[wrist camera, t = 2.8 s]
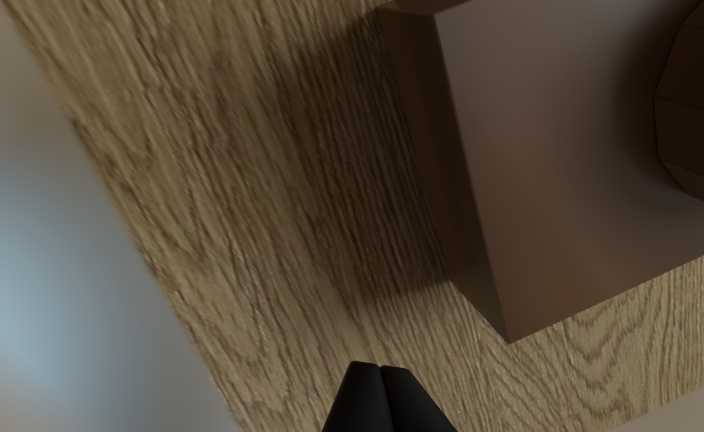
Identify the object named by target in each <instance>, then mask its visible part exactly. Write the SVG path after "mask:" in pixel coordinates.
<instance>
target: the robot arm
mask: <svg viewBox="0 0 704 432" xmlns="http://www.w3.org/2000/svg"><path fill="white" fill-rule="evenodd" d="M322 432H457V430H456V429H455V428H454V426H453V425H452V424H451V423H450V421H449V420H448V419H447V417H446V416H445V415H444V414H443V412H442V411H441V410H440V408H439V407H438V406H437V405H436V403H435V402H434V401H433V399H432V398H431V397H430V396H429V394H428V393H427V392H426V391H425V389H424V388H423V387H422V385H421V384H420V383H419V382H418V380H417V379H416V378H415V376H414V375H413V374H412V373H411V372H410V371H409V370H408V369H405V368H400V367H393V366H386V365H383V366H381V367H380V368H379V366H377V365H376V364H373V363H366V362H360V361H352V362H350V364H349V366H348V368H347V371H346V373H345V376H344V378H343V380H342V383H341V385H340V388H339V390H338V393H337V395H336V398H335V400H334V403H333V405H332V407H331V410H330V412H329V415H328V417H327V420H326V422H325V425H324V427H323V430H322Z"/></svg>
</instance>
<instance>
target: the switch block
mask: <svg viewBox="0 0 704 432" xmlns="http://www.w3.org/2000/svg"><path fill="white" fill-rule="evenodd" d="M377 13H378V17H379V20H380V24H381V28H382V31H383V35H384V39H385V42H386V46H387V50H388V53H389V57H390V61H391V64H392V68H393V72H394V75H395V79H396V83H397V86H398V90H399V94H400V97H401V101H402V105H403V108H404V112H405V116H406V119H407V123H408V127H409V130H410V134H411V138H412V141H413V145H414V148H415V152H416V156H417V159H418V163H419V167H420V170H421V174H422V178H423V181H424V185H425V189H426V192H427V196H428V200H429V203H430V207H431V211H432V214H433V218H434V222H435V225H436V229H437V233H438V236H439V240H440V244H441V247H442V251H443V255H444V258H445V262H446V266H447V269H448V273H449V277H450V280H451V282H452V283H453V284H454V285H455V286H456V287H457V288H458V289H459V291H460V292H461V293H462V294H463V295H464V296H465V297H466V298H467V299H468V300H469V302H470V303H471V304H472V305H473V306H474V307H475V308H476V309H477V310H478V311H479V312H480V314H481V315H482V316H483V317H484V318H485V319H486V320H487V321H488V322H489V323H490V325H491V326H492V327H493V328H494V329H495V330H496V331H497V332H498V333H499V334H500V336H501V337H502V338H503V339H504V340H505V341H506V342H507V343H508V344H512V343H514V342H516V341H518V340H520V339H523V338H525V337H527V336H529V335H531V334H533V333H536V332H538V331H540V330H542V329H544V328H547V327H549V326H551V325H553V324H555V323H557V322H560V321H562V320H564V319H566V318H568V317H570V316H573V315H575V314H577V313H579V312H581V311H583V310H586V309H588V308H590V307H592V306H594V305H597V304H599V303H601V302H603V301H605V300H607V299H610V298H612V297H614V296H616V295H618V294H620V293H623V292H625V291H627V290H629V289H631V288H634V287H636V286H638V285H640V284H642V283H644V282H647V281H649V280H651V279H653V278H655V277H657V276H660V275H662V274H664V273H666V272H668V271H670V270H673V269H675V268H677V267H679V266H681V265H684V264H686V263H688V262H690V261H692V260H694V259H697V258H699V257H701V256H703V255H704V0H393V1H390V2H388V3H385V4H382V5H380V6H378V7H377Z"/></svg>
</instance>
